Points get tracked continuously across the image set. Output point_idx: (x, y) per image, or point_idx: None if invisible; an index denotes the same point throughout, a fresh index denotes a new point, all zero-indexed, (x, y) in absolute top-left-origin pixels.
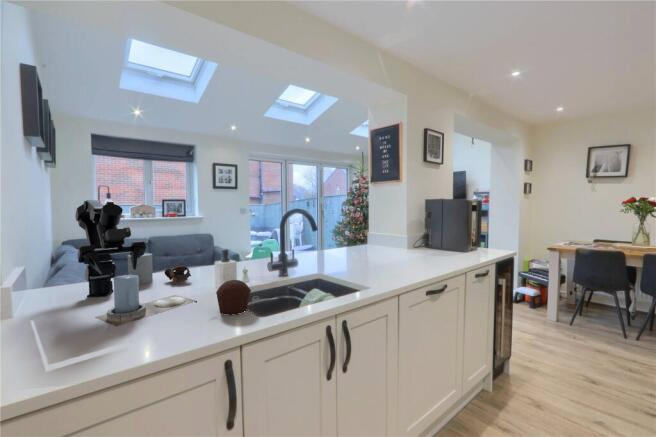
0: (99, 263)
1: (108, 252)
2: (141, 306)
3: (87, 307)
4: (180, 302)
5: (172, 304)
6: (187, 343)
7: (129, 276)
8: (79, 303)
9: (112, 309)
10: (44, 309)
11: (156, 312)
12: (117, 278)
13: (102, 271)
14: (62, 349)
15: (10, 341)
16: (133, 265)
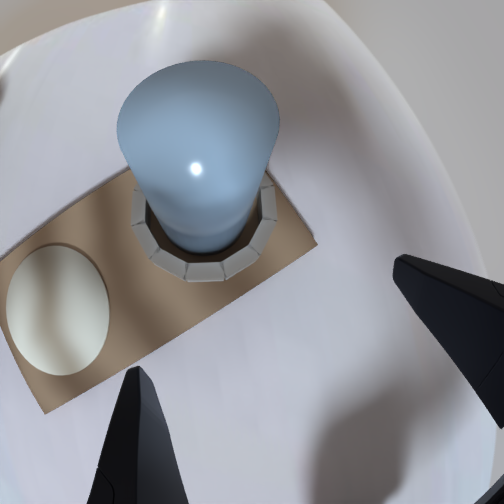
0: (477, 293)
1: (493, 495)
2: (148, 229)
3: (369, 421)
4: (22, 275)
5: (46, 262)
6: (94, 27)
7: (175, 127)
8: (396, 468)
9: (261, 222)
10: (463, 423)
11: (103, 198)
12: (252, 103)
13: (405, 259)
14: (322, 76)
15: (446, 181)
16: (152, 413)
